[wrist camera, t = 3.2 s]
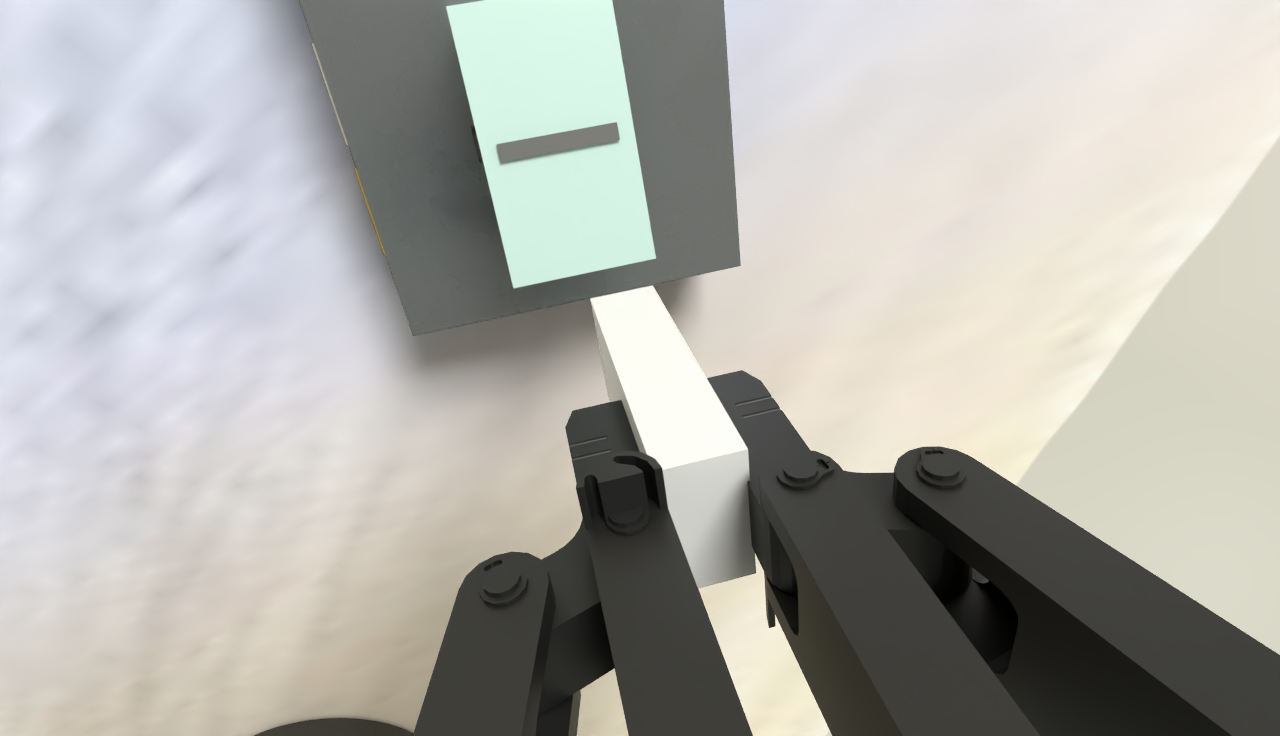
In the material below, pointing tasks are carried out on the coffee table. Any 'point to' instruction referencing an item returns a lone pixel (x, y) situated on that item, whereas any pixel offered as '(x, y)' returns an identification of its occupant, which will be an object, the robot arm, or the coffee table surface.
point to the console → (454, 170)
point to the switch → (554, 134)
